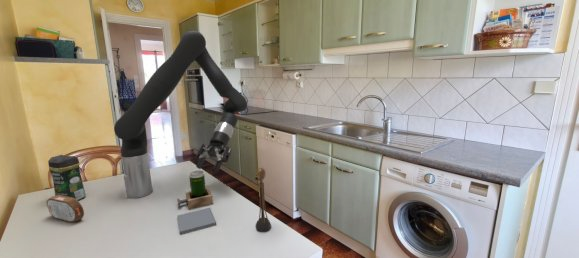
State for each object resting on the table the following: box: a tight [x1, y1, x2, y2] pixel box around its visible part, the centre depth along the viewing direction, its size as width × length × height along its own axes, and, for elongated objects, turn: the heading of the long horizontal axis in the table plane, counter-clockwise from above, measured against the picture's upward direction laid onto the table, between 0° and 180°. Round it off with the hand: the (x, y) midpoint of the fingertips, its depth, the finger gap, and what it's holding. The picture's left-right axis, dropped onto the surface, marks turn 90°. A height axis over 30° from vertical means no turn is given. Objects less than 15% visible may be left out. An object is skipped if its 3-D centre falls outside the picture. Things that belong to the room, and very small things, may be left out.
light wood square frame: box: [176, 186, 214, 211], centre depth 100 cm, size 12×9×4 cm
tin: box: [46, 194, 85, 223], centre depth 90 cm, size 15×3×8 cm, turn 71°
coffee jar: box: [47, 154, 87, 202], centre depth 105 cm, size 10×8×19 cm
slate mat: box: [176, 207, 217, 235], centre depth 87 cm, size 11×11×1 cm
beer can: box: [188, 170, 207, 199], centre depth 100 cm, size 5×5×12 cm
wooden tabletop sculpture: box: [254, 167, 272, 233], centre depth 80 cm, size 6×5×20 cm
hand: (206, 169), depth 104 cm, fingers open, 8 cm apart
